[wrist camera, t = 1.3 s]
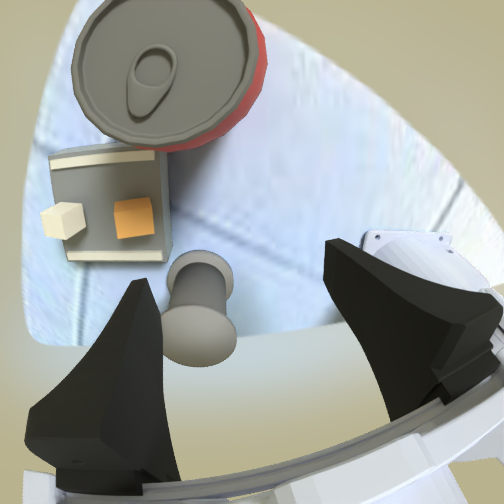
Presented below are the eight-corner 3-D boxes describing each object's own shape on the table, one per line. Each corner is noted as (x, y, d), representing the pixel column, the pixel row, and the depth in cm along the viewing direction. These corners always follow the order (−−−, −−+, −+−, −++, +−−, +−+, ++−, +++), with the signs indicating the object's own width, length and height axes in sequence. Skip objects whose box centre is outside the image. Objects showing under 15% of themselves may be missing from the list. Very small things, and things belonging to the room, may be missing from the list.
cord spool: (233, 249, 23) (236, 308, 17) (233, 304, 26) (236, 367, 20) (165, 250, 23) (146, 307, 17) (172, 304, 25) (160, 366, 19)
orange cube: (149, 196, 18) (152, 207, 16) (151, 220, 19) (154, 233, 17) (114, 201, 17) (113, 213, 15) (117, 225, 18) (117, 239, 16)
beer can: (135, 113, 18) (35, 140, 7) (168, 24, 15) (103, -49, 5) (227, 140, 19) (228, 193, 9) (263, 51, 17) (311, -5, 6)
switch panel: (167, 138, 19) (158, 145, 16) (172, 245, 23) (166, 264, 20) (64, 148, 18) (45, 157, 16) (80, 246, 22) (66, 263, 20)
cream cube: (82, 203, 17) (60, 215, 15) (86, 226, 18) (66, 240, 16) (60, 201, 17) (40, 213, 16) (64, 223, 18) (45, 235, 16)
